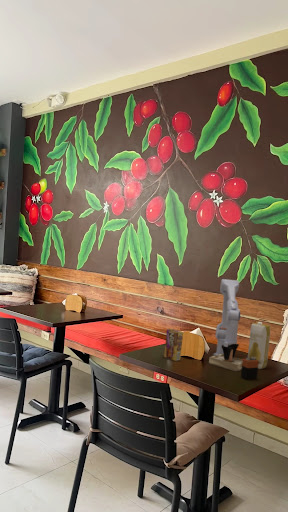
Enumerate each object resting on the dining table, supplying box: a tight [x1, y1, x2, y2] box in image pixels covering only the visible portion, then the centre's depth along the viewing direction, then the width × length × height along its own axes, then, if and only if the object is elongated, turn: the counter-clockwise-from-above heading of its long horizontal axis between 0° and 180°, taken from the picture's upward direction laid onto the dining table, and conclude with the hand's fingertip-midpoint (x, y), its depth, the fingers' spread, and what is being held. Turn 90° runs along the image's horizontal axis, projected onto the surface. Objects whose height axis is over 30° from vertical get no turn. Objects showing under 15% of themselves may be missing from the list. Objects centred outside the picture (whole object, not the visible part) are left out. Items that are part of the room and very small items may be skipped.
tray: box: [208, 354, 244, 372], centre depth 221 cm, size 13×16×4 cm
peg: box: [225, 349, 233, 363], centre depth 221 cm, size 4×4×8 cm
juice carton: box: [247, 321, 271, 370], centre depth 225 cm, size 9×8×24 cm
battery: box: [240, 357, 259, 381], centre depth 202 cm, size 4×7×10 cm, turn 119°
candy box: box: [164, 328, 184, 362], centre depth 225 cm, size 9×4×15 cm, turn 39°
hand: (229, 358), depth 221 cm, fingers open, 7 cm apart
